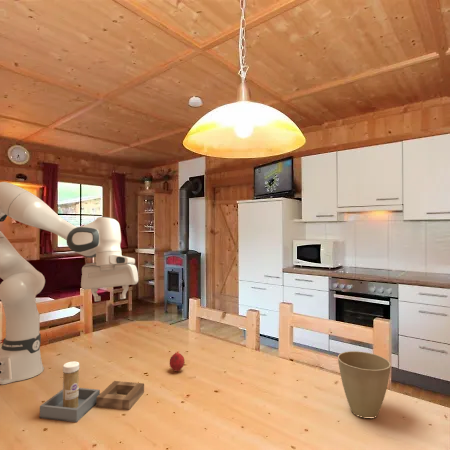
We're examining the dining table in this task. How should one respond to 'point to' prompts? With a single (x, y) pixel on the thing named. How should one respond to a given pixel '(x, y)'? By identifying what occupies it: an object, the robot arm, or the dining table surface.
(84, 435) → the dining table surface
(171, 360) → the onion
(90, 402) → the tray
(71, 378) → the sprinkles bottle
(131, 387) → the collar block
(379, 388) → the plant pot
